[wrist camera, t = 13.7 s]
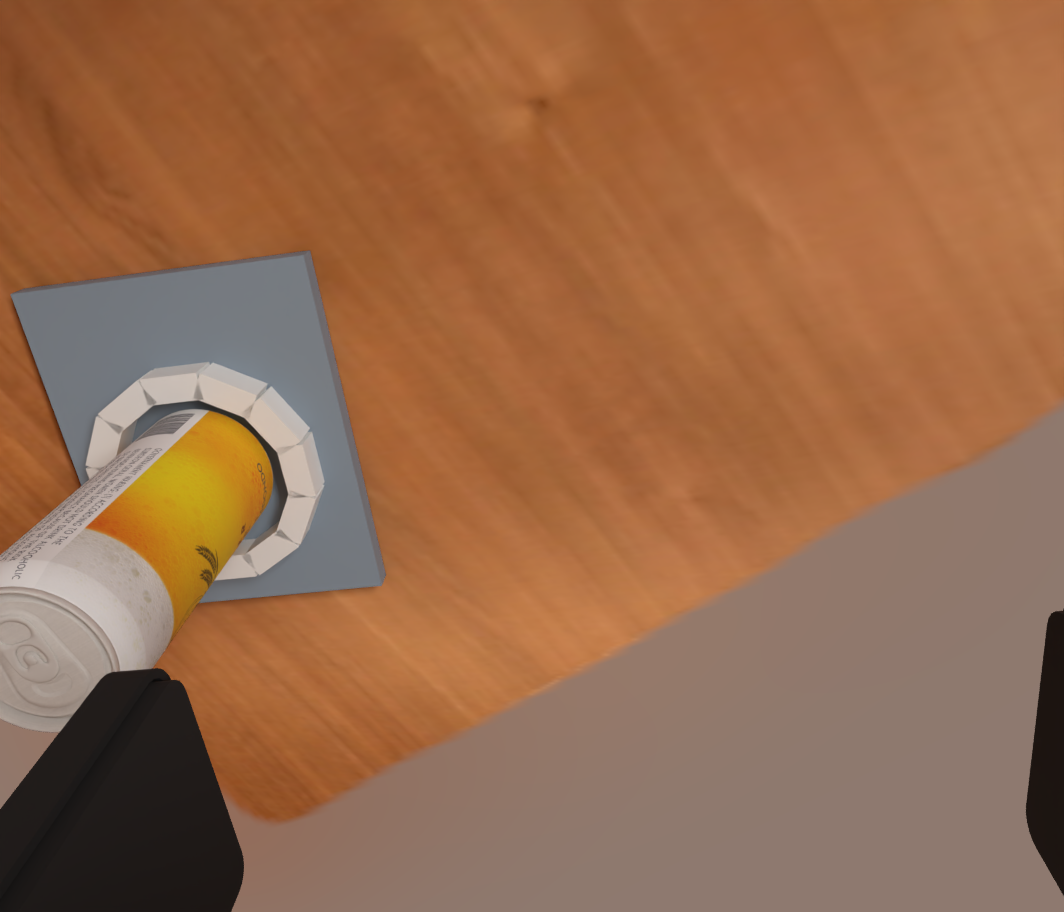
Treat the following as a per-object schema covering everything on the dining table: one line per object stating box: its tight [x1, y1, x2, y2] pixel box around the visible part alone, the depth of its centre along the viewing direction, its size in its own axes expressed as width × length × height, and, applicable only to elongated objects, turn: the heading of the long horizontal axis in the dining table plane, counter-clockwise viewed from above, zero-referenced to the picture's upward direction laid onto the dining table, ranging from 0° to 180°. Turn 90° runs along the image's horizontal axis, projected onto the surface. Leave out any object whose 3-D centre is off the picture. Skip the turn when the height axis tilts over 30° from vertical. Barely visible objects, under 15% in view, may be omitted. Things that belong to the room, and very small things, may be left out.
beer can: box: [0, 409, 273, 733], centre depth 35 cm, size 6×6×15 cm
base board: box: [11, 250, 386, 603], centre depth 41 cm, size 16×13×2 cm
